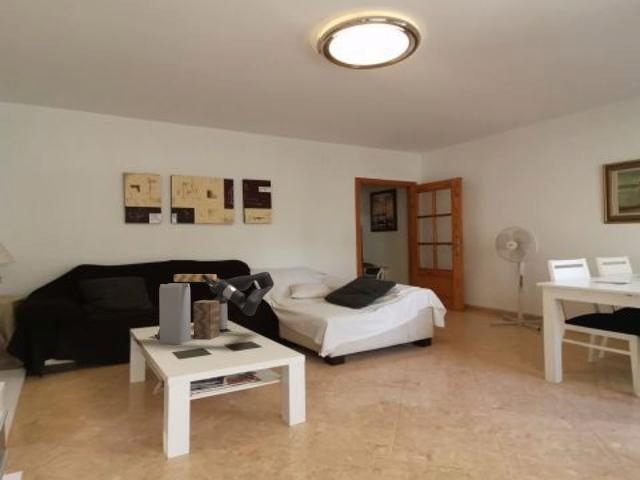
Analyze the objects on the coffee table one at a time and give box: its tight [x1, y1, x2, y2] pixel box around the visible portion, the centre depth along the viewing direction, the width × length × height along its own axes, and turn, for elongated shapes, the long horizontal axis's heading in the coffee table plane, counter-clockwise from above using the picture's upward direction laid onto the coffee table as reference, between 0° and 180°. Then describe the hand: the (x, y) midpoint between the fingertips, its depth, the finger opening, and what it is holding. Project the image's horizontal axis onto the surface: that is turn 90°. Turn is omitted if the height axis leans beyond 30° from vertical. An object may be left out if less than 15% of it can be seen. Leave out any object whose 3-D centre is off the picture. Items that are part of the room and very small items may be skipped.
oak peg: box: [173, 273, 217, 283], centre depth 239 cm, size 26×4×4 cm, turn 72°
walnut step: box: [192, 299, 221, 340], centre depth 254 cm, size 12×10×22 cm
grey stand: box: [158, 282, 192, 345], centre depth 242 cm, size 14×10×34 cm
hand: (204, 275), depth 236 cm, fingers closed on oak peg, 4 cm apart
